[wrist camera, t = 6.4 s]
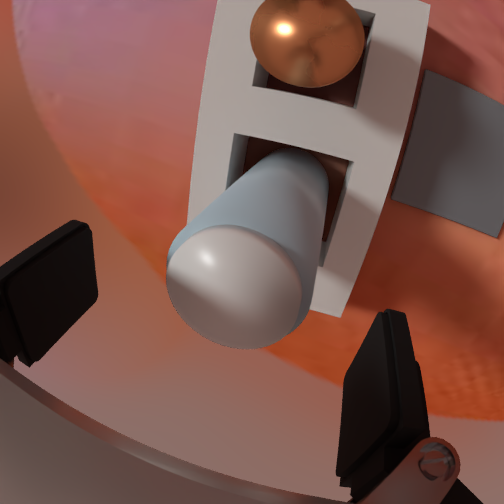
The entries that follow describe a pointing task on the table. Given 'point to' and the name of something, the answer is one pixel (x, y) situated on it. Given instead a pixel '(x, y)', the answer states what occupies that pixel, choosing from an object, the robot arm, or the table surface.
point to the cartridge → (253, 253)
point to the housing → (313, 126)
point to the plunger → (307, 40)
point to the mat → (455, 156)
